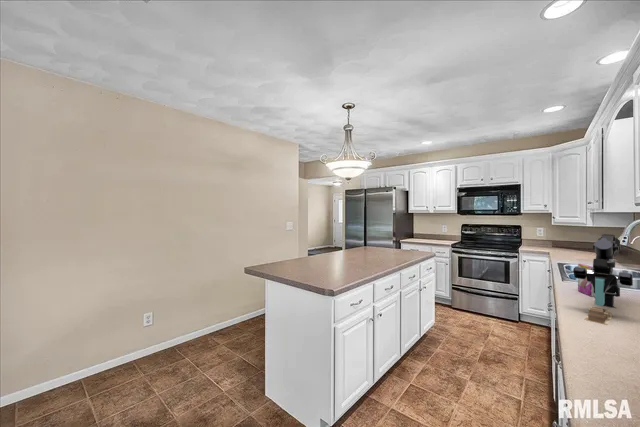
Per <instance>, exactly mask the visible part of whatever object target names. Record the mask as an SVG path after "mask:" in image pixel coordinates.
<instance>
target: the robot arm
mask: <svg viewBox="0 0 640 427" xmlns="http://www.w3.org/2000/svg"><path fill="white" fill-rule="evenodd" d="M592 247H593V250H594V251H595V252H594V253H595V258H593V262H592V265H593V268H592V269H593V270H594V271H590V270H587V271H586V269H585V268H581V267H578V266H575V267H573V270H572V272H573V275H574V278H575V279H577V280H578V279H585V278H586V277H587V281H590V282H591V284H592V286H593V288H594V293H595V277H596V278H603V279H605V286H604V290H603V292H604V293H605V304H604V305H603V306H602V307H607V308H613V309H617V307H616V306H615V297H616V298H619V297H621V287H620V286H619V284H620V285H623V286H627V287H632V286H633V285H634V284H633V283H634V279H633V278H634V277H633V274H632V273H630V272H621V271H619V272H618V274H613V270H614V268H616V259H614V258H615V257H617V256H618V255H619V252H620V251H621V239H618V238H617V237H616V235H614V234H608V233H607V234H606V233H605V234H604V233H602V234H601V237H600V238H598V240H596V241H595V242H593V246H592ZM618 281H619V284H618Z"/></svg>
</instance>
